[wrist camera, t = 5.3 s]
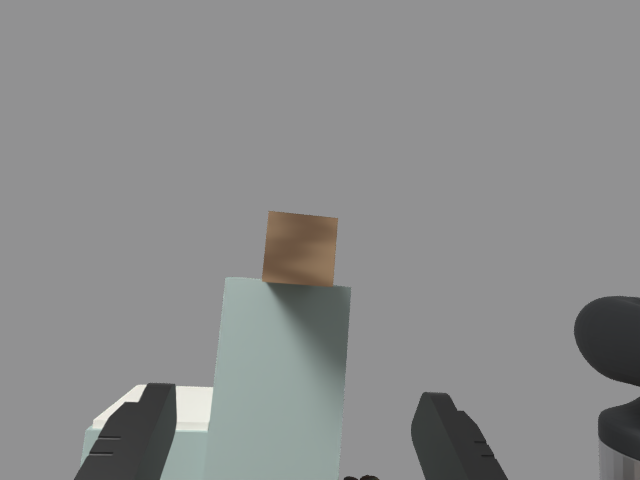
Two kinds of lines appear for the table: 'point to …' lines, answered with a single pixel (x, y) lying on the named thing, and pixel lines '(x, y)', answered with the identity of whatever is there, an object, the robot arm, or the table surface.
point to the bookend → (364, 479)
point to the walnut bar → (300, 249)
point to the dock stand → (263, 389)
